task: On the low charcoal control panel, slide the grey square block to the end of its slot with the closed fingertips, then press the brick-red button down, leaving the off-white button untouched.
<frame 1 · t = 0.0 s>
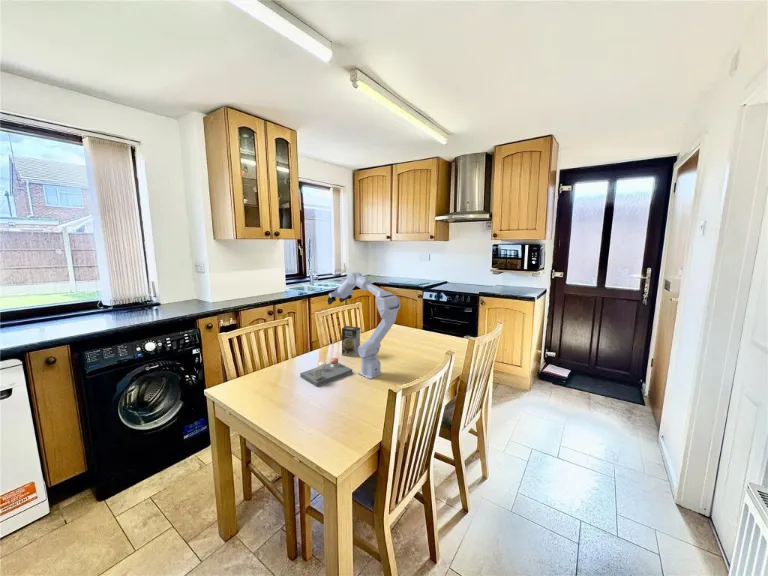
hand: (334, 302, 169), 32 cm above the table, tool tilted 50°, fingers open, 7 cm apart
white button: (322, 365, 154), point 4 cm above the table, slide at 0.0 cm
coffee box: (351, 354, 180), on the table
control panel: (326, 374, 153), on the table
red button: (334, 361, 159), point 4 cm above the table, slide at 0.0 cm
grey square block: (318, 373, 144), point 5 cm above the table, slide at 0.0 cm
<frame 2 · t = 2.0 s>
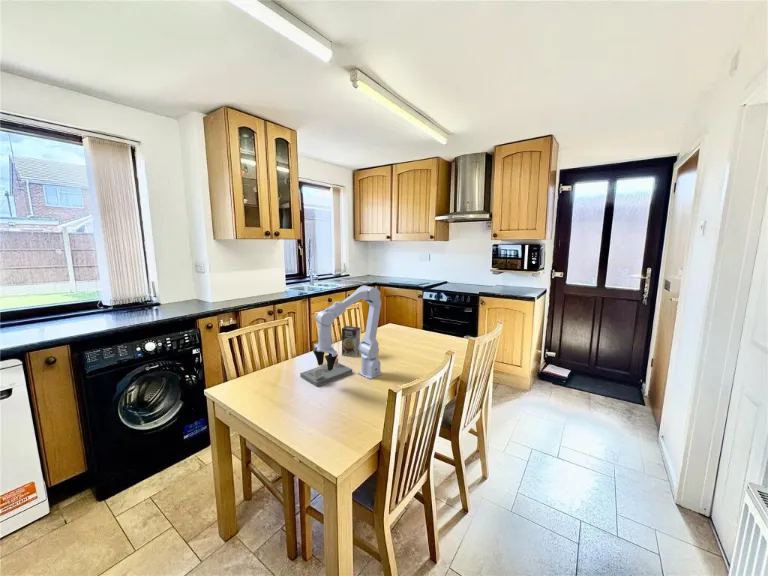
hand: (325, 367, 139), 9 cm above the table, tool pointing down, fingers open, 7 cm apart
nothing on the table moved.
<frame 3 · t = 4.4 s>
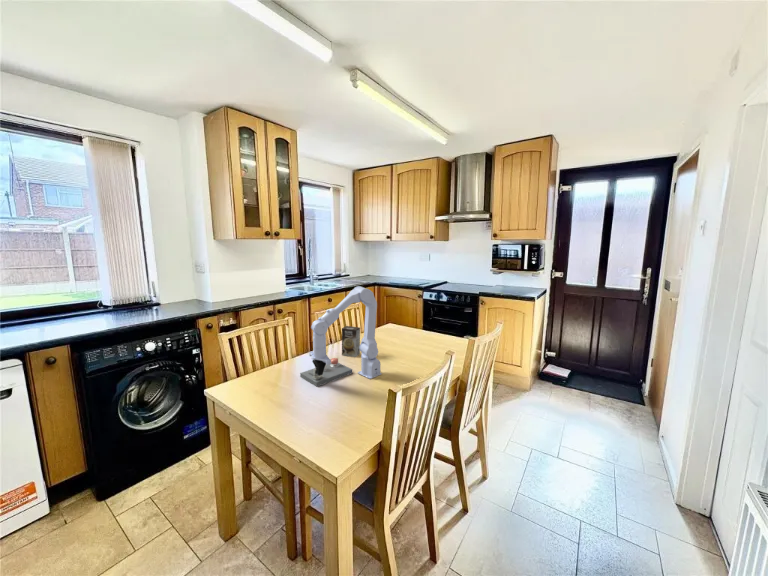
hand: (320, 374, 143), 4 cm above the table, tool pointing down, fingers closed
grey square block: (317, 373, 144), point 4 cm above the table, slide at 0.3 cm, touching gripper
everything else where it was.
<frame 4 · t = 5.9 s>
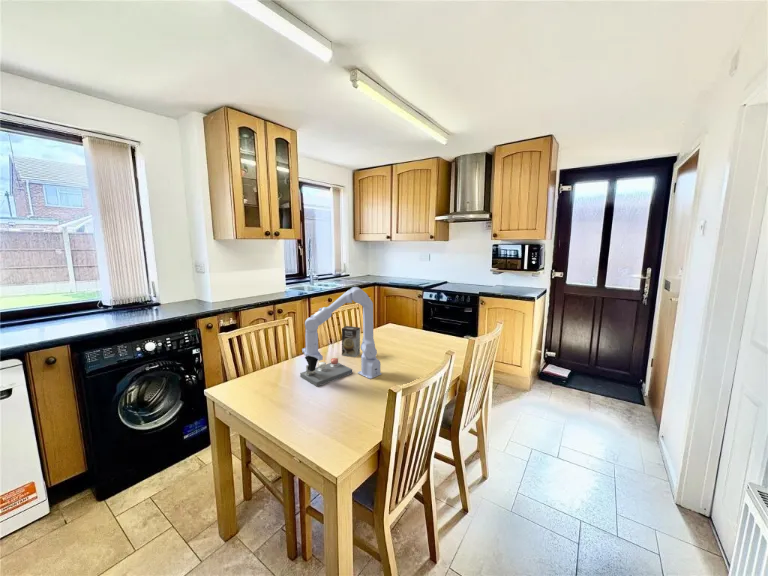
hand: (312, 370, 148), 4 cm above the table, tool pointing down, fingers closed
grey square block: (310, 369, 149), point 4 cm above the table, slide at 6.6 cm, touching gripper
everything else where it was.
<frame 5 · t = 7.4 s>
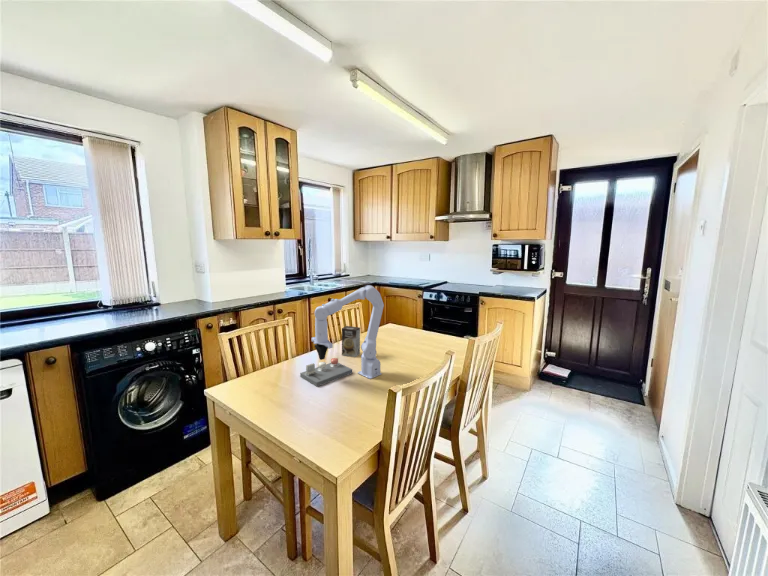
hand: (322, 358, 149), 9 cm above the table, tool pointing down, fingers closed
grey square block: (310, 369, 149), point 4 cm above the table, slide at 6.6 cm
everything else where it was.
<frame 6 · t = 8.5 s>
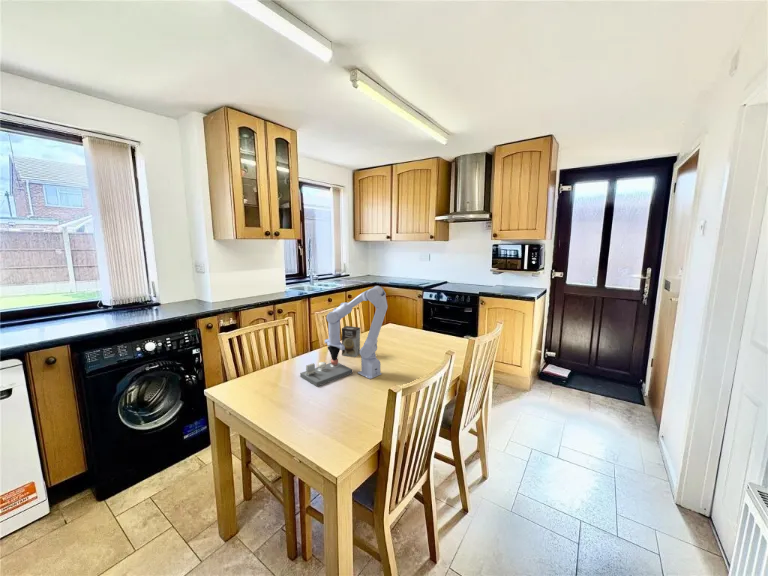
hand: (334, 359, 159), 5 cm above the table, tool pointing down, fingers closed, pressing on red button
red button: (334, 361, 159), point 4 cm above the table, slide at 0.2 cm, touching gripper
everything else where it was.
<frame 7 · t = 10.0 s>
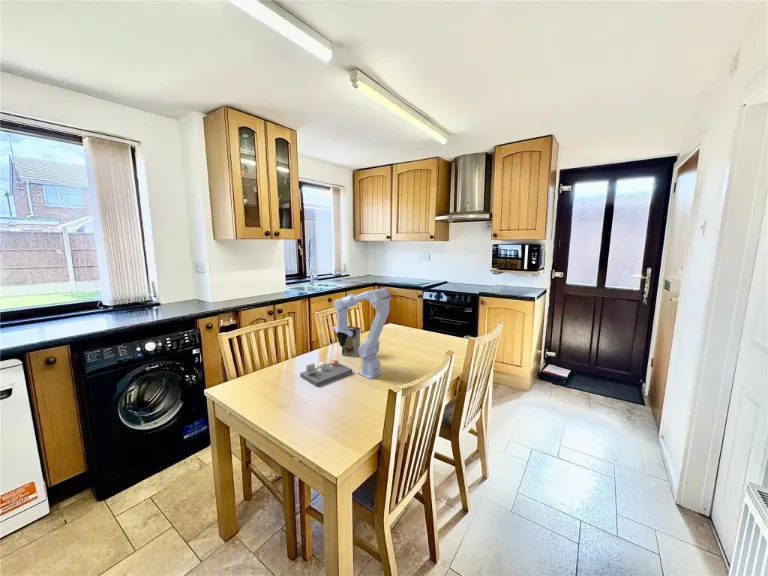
hand: (342, 345, 164), 10 cm above the table, tool pointing down, fingers closed
red button: (334, 363, 160), point 3 cm above the table, slide at 1.2 cm
everything else where it was.
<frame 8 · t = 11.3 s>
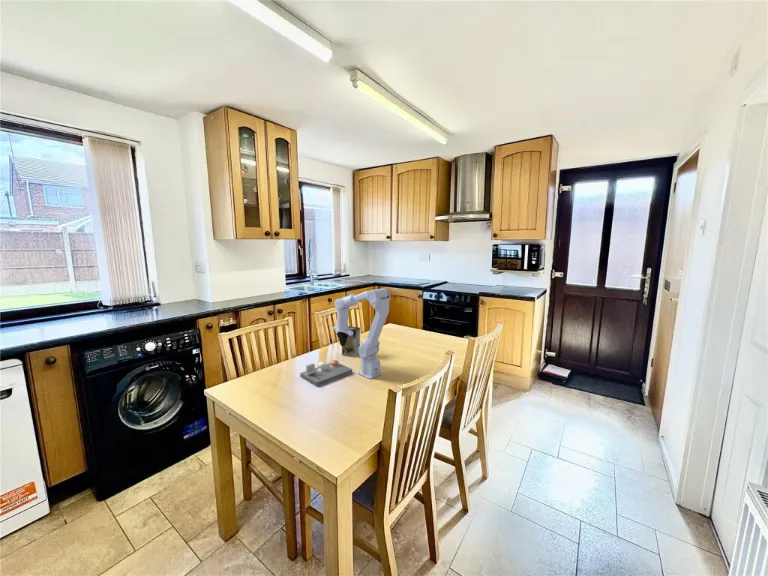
hand: (342, 345, 165), 10 cm above the table, tool pointing down, fingers closed
nothing on the table moved.
at the end: grey square block slide at 6.6 cm; red button slide at 1.2 cm; white button slide at 0.0 cm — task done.
